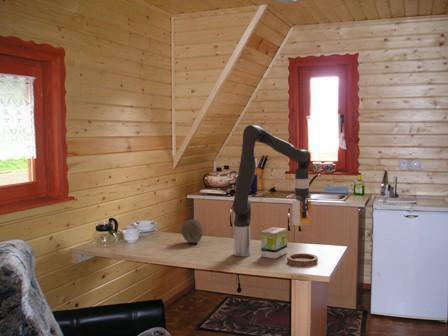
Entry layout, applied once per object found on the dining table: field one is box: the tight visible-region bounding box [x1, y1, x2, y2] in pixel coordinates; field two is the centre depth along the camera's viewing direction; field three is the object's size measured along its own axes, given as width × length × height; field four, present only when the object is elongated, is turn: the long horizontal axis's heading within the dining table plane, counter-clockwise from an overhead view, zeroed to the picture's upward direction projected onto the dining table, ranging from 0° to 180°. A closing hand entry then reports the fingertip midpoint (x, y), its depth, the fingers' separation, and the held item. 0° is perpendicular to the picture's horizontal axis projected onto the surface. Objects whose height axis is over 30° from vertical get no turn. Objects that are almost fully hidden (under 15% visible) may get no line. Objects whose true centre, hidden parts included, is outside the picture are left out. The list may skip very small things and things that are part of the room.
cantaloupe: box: [181, 219, 204, 244], centre depth 315 cm, size 14×14×15 cm
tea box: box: [260, 226, 288, 260], centre depth 283 cm, size 15×10×15 cm, turn 148°
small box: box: [291, 199, 312, 227], centre depth 265 cm, size 8×6×13 cm
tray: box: [286, 252, 319, 267], centre depth 268 cm, size 16×16×3 cm
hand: (301, 216), depth 266 cm, fingers closed on small box, 7 cm apart
